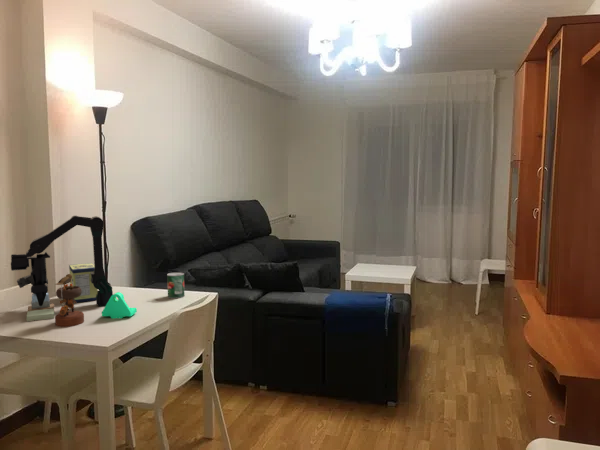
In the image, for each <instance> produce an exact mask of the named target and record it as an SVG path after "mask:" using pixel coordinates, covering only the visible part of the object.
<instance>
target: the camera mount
mask: <svg viewBox="0 0 600 450" xmlns="http://www.w3.org/2000/svg"><path fill="white" fill-rule="evenodd" d="M137 309H138V308H137V307H130V306H129V305H128V303H127V302H126V300H125V296H124V294H123V293H122V292H120V291H119V292H115V293H113V295H112V296H111V298H110V299H109V301H108V303H107V304H106V306H104V308H103V310H102V311H101V317H110V319H123V318H125V317H132V316H133V315H136V313H137V312H138V310H137Z"/></svg>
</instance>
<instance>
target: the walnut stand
mask: <svg viewBox="0 0 600 450" xmlns="http://www.w3.org/2000/svg"><path fill="white" fill-rule="evenodd" d="M53 308H54V309H55V304H54V303H50V307H47V308H38V309H32V305H28V306H27V311H34V310H44V309H53Z"/></svg>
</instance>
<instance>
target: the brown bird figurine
mask: <svg viewBox="0 0 600 450" xmlns="http://www.w3.org/2000/svg"><path fill="white" fill-rule="evenodd" d="M71 279H72V275H71V274H70V273H67V274H66V275H65V276H64V277H62V278H60V279H59V280H58V282H57V283H55V285H58V286H61V287H59V288H57V290H56V291H55V296H56V297H57V298H58V299H60V300H59V304H60V305H62V306H61V308H60V310H59V313H57V314H55V315H54V322H55V326H56V327H59V328H60V327H61V328H62V327H64V328H65V327H66V328H68V327H75V326H79V325H82V324H83V323H84V322H85V313H84V312H82V311H81V310H75V304H77V303H76V301H75V300H74V298H77V297H79V296H80V295H81V293H82V290H81V288H80V287H79V286H73V285H72V284H70V282H71ZM64 303H65V304H64ZM63 304H64V305H63ZM70 309H71V310H70Z"/></svg>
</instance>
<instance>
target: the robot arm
mask: <svg viewBox="0 0 600 450" xmlns="http://www.w3.org/2000/svg"><path fill="white" fill-rule="evenodd" d="M104 224H105V222H104V220H103V218H101V217H100V216H97V215H96V216H92V217H89V216H88V217H87V216H79V215H73V216H71V217H70V218H68V220H66V221H64V222H63V223H61V224H60V225H59V226H57V227H55V228H54V229H53V230H51V231H50V232H48V233H46V234H44V235H42V236H38V237H37V238H34V239H33V240H31V241H30V245H29V249H28V250H27V251H26V253H20V254H17V253H12V254H11V255H10V269H11V271H24V270H27V269H28V268H29V267H30V269H31V271H30V274H27V275H26V276H22V277H20V278H18V279H17V280H16V283H17V285H18V287H19V289H21V288H24V287H25V286H28V285H30V284H31V287H30V292H31V294H33V293H34V294H35V295H36V297H37V300H38V303H39V306H42V305H43V302H44V299H45V297H46V294H47V292H48V291H49V279H48V276H47V275H48V273H47V259H50V258H51V255H50V254H49V253H48V252H47V251H46V249H48V247H49V246H50V245H51V244H52V243H53V242H54V241H56V240H57V239H58V238H59V239H60V237H61V236H63V235H65V234H66V233H67V232H69V231H70V230H72V229H74V227H76V226H81V227H85V228H90V232H91V233H90V234H91V236H92V248H93V265H94V272H90V273H91V283H93V285H94V287H95V288H96V289H98V291H97V294H96V300H95V302H96V305H97V306H98V307H105V306H106V304H107V303H108V301H109V299H110V298H111V296H112V295H113V294H114V293H113V286H112V285H111V283H110V282H109V281H108V280H107V276H106V273H105V269H104V258H103V257H104V255H103V238H102V237H103V232H104V227H105V225H104ZM44 251H45V252H44ZM43 252H44V253H43ZM34 255H35V256H34Z"/></svg>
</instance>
